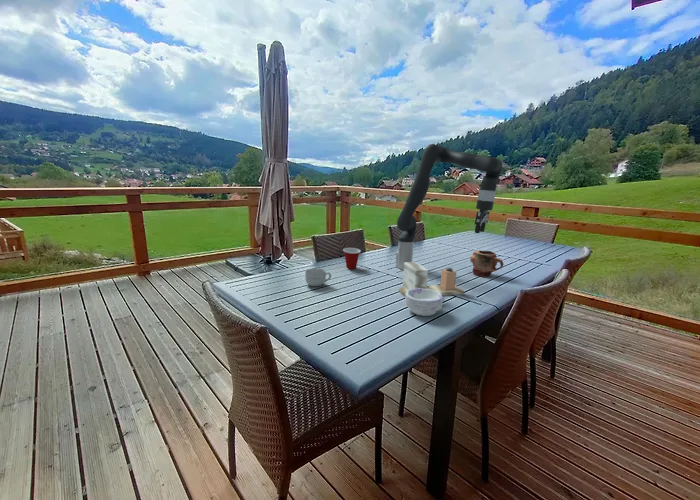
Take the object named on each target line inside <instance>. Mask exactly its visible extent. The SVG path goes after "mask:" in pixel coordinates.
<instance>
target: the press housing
mask: <svg viewBox="0 0 700 500" xmlns="http://www.w3.org/2000/svg"><path fill="white" fill-rule="evenodd" d="M428 274H429V269H427V268H426V267H424V266H423V265H421V264H419V263H418V262H416V261H412V262H404V270H403V276H402V287H398V292H399V293H400V294H401V295H402V296H403V297H404V298H405V296H406V292H407V291H408V290H411V289H418V288H422V289H430V290H434V291H437V292H439V293H441V294H442V295H443V296H455V294H456V295H464V294H465V290H463V289H462V288H460V287H458V286H457V285H455V289H452V290H445V289H443V288H442V287H441V284H435V285H428Z"/></svg>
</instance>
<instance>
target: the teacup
mask: <svg viewBox="0 0 700 500" xmlns="http://www.w3.org/2000/svg"><path fill="white" fill-rule="evenodd" d="M304 273H305V277H304V278H305V283H306V284H308V286H310V287H321V286H322V285H324V283H326V282H328V281H329V280H330V279H331V278H332V274H331V273H330V272H329V271H326V269H324V268H320V267H319V268H318V267H317V268H308V269H305V270H304ZM327 275H328V278H327Z"/></svg>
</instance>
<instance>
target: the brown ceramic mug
mask: <svg viewBox="0 0 700 500" xmlns="http://www.w3.org/2000/svg"><path fill="white" fill-rule="evenodd" d="M469 257H470V258H469V259H470V262H471V263H472V265H473V267H472V274H473V275H474V276H477V277H481V278H488V277H490V276H492V273H494V272H497V271H499V270H500V269H503V267H504V262H503V260H502V258H499V257H497V254H496V253H495V252H493V251H491V250H480V249H479V250H476V251H473V253H472V255H470V256H469ZM498 263H499V264H500V267H498V268H497V267H496V266H497V265H498Z"/></svg>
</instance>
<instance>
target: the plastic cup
mask: <svg viewBox="0 0 700 500" xmlns="http://www.w3.org/2000/svg"><path fill="white" fill-rule="evenodd" d="M342 250H343V254H344V260H345V266H346V269H347V268H348V269H347V270H350V269H353V270H356V269H357V265H358V262H359V261H358V260H359V256H360V253H361V249H359V248H355V247H345V248H343V249H342ZM355 268H356V269H355Z"/></svg>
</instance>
